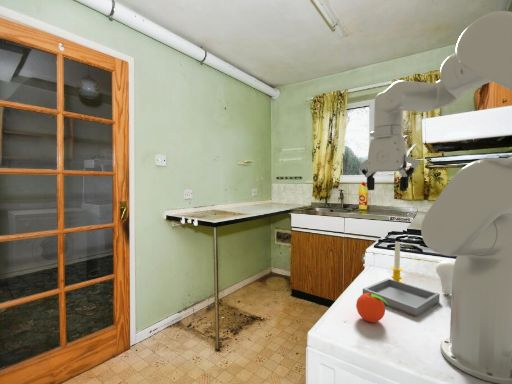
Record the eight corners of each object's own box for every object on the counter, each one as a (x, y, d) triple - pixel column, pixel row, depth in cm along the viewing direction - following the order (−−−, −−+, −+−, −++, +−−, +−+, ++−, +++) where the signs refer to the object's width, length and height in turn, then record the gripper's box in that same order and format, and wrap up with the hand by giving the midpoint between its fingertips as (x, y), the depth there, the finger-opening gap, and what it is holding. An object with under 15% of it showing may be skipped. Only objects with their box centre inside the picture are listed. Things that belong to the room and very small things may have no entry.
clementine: (390, 319, 69) (391, 292, 69) (387, 332, 63) (388, 303, 63) (358, 311, 73) (359, 286, 73) (353, 322, 67) (353, 295, 67)
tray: (439, 302, 79) (439, 294, 79) (415, 317, 70) (416, 308, 70) (388, 285, 92) (388, 278, 92) (362, 296, 83) (362, 288, 82)
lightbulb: (450, 291, 87) (451, 258, 87) (463, 299, 81) (464, 264, 81) (431, 290, 88) (432, 257, 87) (442, 298, 82) (443, 263, 81)
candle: (403, 282, 95) (405, 239, 94) (405, 287, 90) (406, 242, 89) (387, 279, 97) (389, 238, 96) (388, 284, 92) (389, 241, 92)
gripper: (354, 136, 83) (353, 190, 84) (414, 127, 70) (412, 191, 70) (366, 139, 88) (365, 189, 89) (424, 131, 75) (423, 191, 75)
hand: (386, 190), depth 79 cm, fingers open, 9 cm apart
